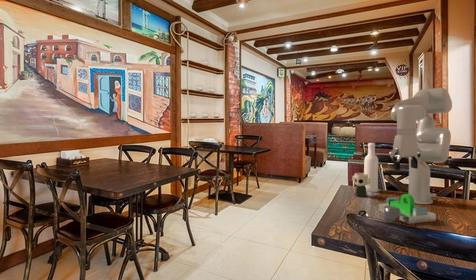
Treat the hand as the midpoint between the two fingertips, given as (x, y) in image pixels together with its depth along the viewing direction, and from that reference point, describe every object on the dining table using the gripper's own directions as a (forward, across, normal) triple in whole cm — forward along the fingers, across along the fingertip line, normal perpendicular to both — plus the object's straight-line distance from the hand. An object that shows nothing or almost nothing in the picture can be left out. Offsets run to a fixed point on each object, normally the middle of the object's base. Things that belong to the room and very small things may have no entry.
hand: (405, 168), depth 126 cm
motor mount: (+21, +6, +2) cm, 22 cm away
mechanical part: (+19, +2, +2) cm, 19 cm away
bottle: (+23, -13, -39) cm, 47 cm away
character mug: (+22, 0, -31) cm, 38 cm away
